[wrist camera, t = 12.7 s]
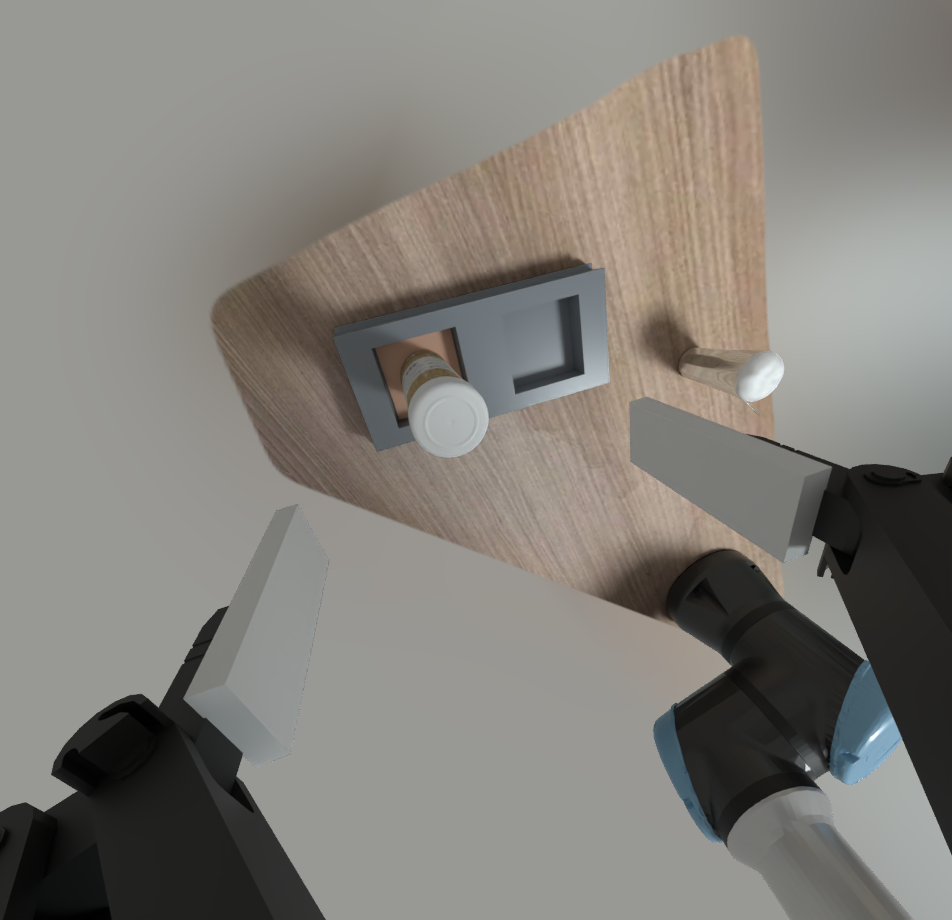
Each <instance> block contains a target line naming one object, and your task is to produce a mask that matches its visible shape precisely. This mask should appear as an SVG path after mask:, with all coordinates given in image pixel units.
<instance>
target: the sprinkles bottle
mask: <svg viewBox="0 0 952 920" xmlns="http://www.w3.org/2000/svg"><path fill="white" fill-rule="evenodd" d="M400 379H401V385H402V387H403V392H404V397H405V401H406V405H407V408H408V419H409V424H410V428H411V431H412V434H413V436H414V438H415V440H416V441H417V443H418V444H419V445H420V446H421V447H422V448H423V449H424V450H425V451H427V452H428V453H430V454H432V455H435V456H438V457H444V458H452V457H458V456H461V455H464V454H466V453H468V452H470V451H471V450H473V449H474V448H475V447H476V446H477V445H478V444H479V443H480V442H481V440H482V439H483V437H484V435H485V433H486V431H487V427H488V421H489V416H488V409H487V406H486V403H485V401H484V399H483V398H482V396H481V395H480V394H479V393H478V391H477V390H476V389H475V388H474V387H473V386H472V385H471V384H469V383H468V382H466V381H465V380H463V379H462V378H461V377H460V376H459V375H458V374H457V373H456V372H455V371H454V370H453V369H452V368H451V367H450V366H449V365H448V364H447V362H446V361H445V360H444V359H443V358H442V357H441V356H440V355H439V354H437V353H435V352H432V351H418V352H416V353H413V354H412V355H410V356H409V357H408V358H407V359H406V360H405V362H404V363H403V365H402V367H401V371H400Z"/></svg>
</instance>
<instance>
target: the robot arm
mask: <svg viewBox="0 0 952 920" xmlns="http://www.w3.org/2000/svg"><path fill="white" fill-rule="evenodd" d="M629 403H630V458H631V462H632V463H633V464H635V465H636V466H638V467H639V468H641V469H642V470H644V471H645V472H647V473H648V474H650V475H651V476H653V477H654V478H656V479H657V480H659V481H660V482H662V483H663V484H665V485H666V486H668V487H669V488H671V489H672V490H674V491H675V492H677V493H678V494H680V495H681V496H683V497H684V498H686V499H687V500H689V501H691V502H692V503H694V504H695V505H697V506H698V507H700V508H701V509H703V510H704V511H706V512H707V513H709V514H710V515H712V516H713V517H715V518H716V519H718V520H719V521H721V522H722V523H724V524H725V525H727V526H728V527H730V528H731V529H733V530H734V531H736V532H737V533H739V534H740V535H742V536H743V537H745V538H746V539H748V540H749V541H751V542H752V543H754V544H755V545H757V546H758V547H760V548H761V549H763V550H764V551H766V552H767V553H769V554H770V555H772V556H773V557H775V558H776V559H778V560H779V561H781V562H782V563H785V562H788V561H791V560H793V559H796V558H798V557H801V556H804V555H806V554H808V551H809V547H810V543H811V540H812V536H814V537H816V538H818V539H820V540H821V541H823V542H825V547H824V550H823V553H822V557H821V560H820V563H819V566H818V569H817V576H819V577H823V575H824V572H825V570H826V569H827V568H829V569H830V571H831V573H832V575H831V578H833V579H834V580H835V583H836V585H837V587H838V590H839V592H840V594H841V597H842V599H843V601H844V604H845V606H846V608H847V611H848V613H849V615H850V618H851V620H852V622H853V625H854V627H855V629H856V632H857V634H858V637H859V639H860V641H861V644H862V646H863V648H864V651H865V653H866V655H867V658H868V660H869V662H868V661H866V660H864V659H862V658H861V657H860V656H858V655H857V654H855V653H854V652H853V651H852V650H850V649H849V648H848V647H846V646H845V645H844V644H842V643H841V642H840V641H838V640H837V639H836V638H834V637H833V636H831V635H830V634H829V633H828V632H826V631H825V630H824V629H822V628H821V627H820V626H818V625H817V624H815V623H814V622H813V621H811V620H810V619H809V618H808V617H806V616H805V615H804V614H802V613H801V612H799V611H798V610H797V609H795V608H794V607H793V606H791V605H790V604H789V603H787V602H786V601H785V600H784V599H783V598H782V597H781V596H780V594H779V593H778V592H777V590H776V589H775V588H774V587H773V585H772V584H771V583H770V581H769V580H768V579H767V578H766V576H765V575H764V574H763V573H762V571H761V570H760V569H759V567H758V566H757V565H756V564H755V563H754V562H753V561H751V560H750V559H749V558H747V557H746V556H744V555H743V554H742V553H740V552H737V551H732V550H726V551H720V552H716V553H713V554H710V555H708V556H706V557H704V558H702V559H700V560H699V561H697V562H696V563H694V564H693V565H692V566H690V567H689V568H688V569H687V570H686V571H685V572H684V573H683V574H682V575H681V576H680V577H679V578H678V580H677V581H676V582H675V584H674V585H673V587H672V589H671V591H670V593H669V596H668V599H667V612H668V614H669V616H670V617H671V618H672V619H673V620H674V622H675V623H676V624H677V625H678V626H679V627H680V628H681V629H682V630H684V631H685V632H687V633H689V634H691V635H692V636H693V637H695V638H697V639H698V640H700V641H701V642H703V643H704V644H706V645H707V646H709V647H711V648H712V649H714V650H715V651H717V652H718V653H720V654H721V655H722V656H723V657H724V658H725V660H727V662H728V663H729V664H730V665H731V666H732V667H731V668H730V669H728V670H727V671H725V672H724V673H722V674H720V675H719V676H717V677H716V678H714V679H713V680H712V681H710V682H709V683H707V684H706V685H704V686H703V687H701V688H700V689H698V690H697V691H695V692H694V693H692V694H691V695H689V696H688V697H687V698H685V699H684V700H683V701H681V702H679V703H678V704H677V703H675V704H673V705H672V707H671V709H670V710H669V711H667V712H666V713H665V714H664V715H662V716H661V717H660V718H658V719H657V720H656V722H655V724H654V729H653V731H654V740H655V743H656V746H657V750H658V752H659V755H660V757H661V760H662V762H663V764H664V767H665V769H666V771H667V773H668V775H669V777H670V779H671V781H672V783H673V785H674V787H675V789H676V791H677V793H678V795H679V796H680V798H682V800H683V801H684V803H685V806H686V808H687V810H688V812H689V813H690V815H691V817H692V818H693V820H694V821H695V823H696V825H697V826H698V827H699V829H700V830H701V832H702V833H703V834H704V835H705V836H706V837H707V838H708V839H709V840H710V841H712V842H719V843H722V842H724V843H725V845H726V847H727V848H728V850H729V851H730V853H731V855H732V856H733V858H735V859H736V860H737V861H739V862H741V863H743V864H745V865H747V866H749V867H751V868H753V869H754V870H756V871H758V872H759V873H760V874H761V875H762V876H763V878H764V880H765V881H766V883H767V884H768V886H769V887H770V889H771V890H772V892H773V893H774V895H775V896H776V898H777V900H778V901H779V903H780V904H781V906H782V907H783V909H784V911H785V912H786V914H787V915H788V917H789V918H790V920H913V918H912V917H911V916H910V915H909V914H908V912H907V911H906V910H905V909H904V908H903V907H902V906H901V904H900V903H899V902H898V901H897V900H896V899H895V898H894V896H893V895H892V894H891V893H890V892H889V890H888V889H887V888H886V887H885V886H884V885H883V883H882V882H881V881H880V880H879V879H878V878H877V876H876V875H875V874H874V873H873V872H872V871H871V869H870V868H869V867H868V866H867V865H866V864H865V862H864V861H863V860H862V859H861V858H860V857H859V855H858V854H857V853H856V852H855V851H854V850H853V848H852V847H851V846H850V845H849V844H848V843H847V841H846V840H845V839H844V838H843V837H842V836H841V835H840V833H839V832H838V831H837V830H836V828H835V826H834V823H833V816H832V807H831V802H830V800H829V798H828V797H827V796H826V794H825V793H824V792H823V791H822V790H821V789H820V788H819V787H818V786H817V784H816V783H815V782H814V780H815V779H817V778H818V777H820V776H821V775H823V774H824V773H826V772H828V771H830V772H831V774H832V775H833V776H834V777H835V778H836V779H839V780H840V781H842V782H843V783H845V784H854V783H857V782H858V781H859V780H861V779H862V778H864V777H866V776H868V775H869V774H870V773H871V772H873V771H874V770H875V769H876V768H877V767H878V766H879V765H880V764H881V763H882V762H883V761H884V760H885V759H886V758H887V757H888V756H889V755H890V754H891V753H892V752H893V750H894V749H895V748H896V747H897V746H898V744H899V743H900V742H901V740H903V742H904V744H905V747H906V749H907V751H908V754H909V756H910V758H911V760H912V763H913V765H914V767H915V770H916V772H917V775H918V777H919V779H920V782H921V784H922V786H923V789H924V791H925V793H926V796H927V798H928V800H929V803H930V805H931V807H932V810H933V812H934V815H935V817H936V819H937V822H938V824H939V826H940V828H941V831H942V833H943V836H944V838H945V840H946V843H947V845H948V847H949V849H950V852H951V854H952V457H951V458H950V460H949V462H948V464H947V467H946V469H945V471H944V473H937V474H928V475H919V474H917V473H915V472H912V471H910V470H907V469H904V468H899V467H895V466H890V465H879V464H869V465H868V464H867V465H859V466H855V467H852V468H851V469H848V468H845V467H843V466H840V465H837V464H834V463H831V462H829V461H826V460H824V459H821V458H818V457H815V456H813V455H810V454H807V453H804V452H802V451H799V450H796V451H795V450H794V448H791V447H788V446H785V445H780V443H777V442H775V441H772V440H769V439H767V438H764V437H759V436H754V435H748V434H744V433H741V432H739V431H736V430H733V429H731V428H728V427H725V426H723V425H720V424H717V423H715V422H712V421H709V420H707V419H704V418H701V417H699V416H696V415H694V414H691V413H688V412H686V411H683V410H680V409H678V408H675V407H672V406H670V405H667V404H664V403H662V402H659V401H657V400H654V399H651V398H649V397H644V398H641V399H638V400H635V401H631V402H629ZM328 564H329V560H328V558H327V556H326V554H325V553H324V551H323V549H322V547H321V545H320V544H319V542H318V540H317V538H316V536H315V534H314V532H313V531H312V529H311V527H310V525H309V523H308V521H307V520H306V518H305V516H304V514H303V512H302V511H301V509H300V507H299V505H298V504H297V505H293V506H290V507H287V508H284V509H281V510H277V511H276V512H275V514H274V516H273V518H272V520H271V522H270V524H269V526H268V529H267V530H266V533H265V534H264V537H263V538H262V541H261V543H260V545H259V547H258V549H257V551H256V553H255V555H254V557H253V559H252V561H251V563H250V565H249V567H248V569H247V571H246V573H245V575H244V577H243V579H242V581H241V583H240V585H239V587H238V589H237V591H236V593H235V595H234V597H233V599H232V601H231V603H230V605H229V606H227V607H224V608H221V609H218V610H217V612H216V613H215V614H214V615H213V616H212V617H211V618H210V619H209V620H208V621H207V623H206V624H205V625H204V626H203V627H202V629H201V631H200V632H199V634H198V637H197V638H196V640H195V642H194V643H193V645H192V646H193V648H192V649H190V651H189V653H188V655H187V656H186V659H185V660H184V661H185V663H184V664H182V666H181V667H180V669H179V671H178V673H177V675H176V677H175V679H174V680H173V682H172V684H171V686H170V688H169V690H168V692H167V693H166V695H165V697H164V699H163V701H162V703H161V704H160V706H159V708H158V707H157V706H156V705H154V704H153V703H152V702H151V701H150V700H149V699H148V698H146V697H145V696H144V695H142V694H137V695H129V696H127V697H125V698H122V699H120V700H118V701H115V702H114V703H112V704H111V705H109V706H108V707H106V708H104V709H103V710H101V711H100V712H98V713H97V714H96V715H94V716H93V717H92V718H91V719H90V720H89V721H88V722H86V723H85V724H84V725H83V726H82V727H81V728H79V730H78V731H77V732H76V733H75V734H74V735H73V736H72V737H71V738H70V740H69V741H68V742H67V743H66V744H65V745H64V747H63V748H62V750H61V752H60V753H59V755H58V756H57V758H56V760H55V761H54V765H53V769H52V773H51V775H52V776H54V777H56V778H58V779H59V780H61V781H62V782H64V783H66V784H67V785H69V786H71V787H72V788H74V789H76V790H77V792H75V793H74V794H72V795H71V796H69V797H67V798H66V799H64V800H63V801H61V802H60V803H58V804H56V805H55V806H53V807H52V808H50V809H48V810H47V811H45V812H43V811H41V810H39V809H37V808H35V807H33V806H31V805H30V804H28V803H21V804H18V805H14V806H11V807H9V808H7V809H5V810H4V811H2V812H0V920H326V919H325V918H324V917H323V914H322V913H321V911H320V909H319V908H318V906H317V905H316V903H315V901H314V899H313V898H312V896H311V895H310V893H309V891H308V889H307V888H306V886H305V885H304V883H303V881H302V879H301V878H300V876H299V874H298V873H297V871H296V870H295V868H294V866H293V865H292V863H291V862H290V859H289V858H288V856H287V854H286V853H285V852H284V849H283V848H282V847H281V844H280V843H279V841H278V840H277V838H276V837H275V834H274V833H273V831H272V829H271V828H270V826H269V824H268V823H267V821H266V819H265V818H264V816H263V815H262V813H261V811H260V810H259V808H258V806H257V804H256V803H255V801H254V800H253V798H252V796H251V794H250V793H249V791H248V789H247V788H246V786H245V785H244V783H243V782H242V781H241V780H240V779H239V778H238V777H236V775H237V772H238V768H239V765H240V762H241V759H242V755H243V756H244V757H245V758H246V759H247V760H248V761H249V762H250V763H251V764H252V765H253V766H255V767H256V768H257V767H259V766H262V765H265V764H267V763H270V762H272V761H275V760H278V759H280V758H283V757H285V756H288V755H290V754H291V749H292V744H293V740H294V735H295V730H296V724H297V719H298V714H299V710H300V704H301V699H302V694H303V690H304V684H305V679H306V675H307V670H308V664H309V659H310V654H311V649H312V644H313V639H314V634H315V629H316V624H317V619H318V614H319V609H320V604H321V599H322V594H323V589H324V584H325V579H326V574H327V569H328Z"/></svg>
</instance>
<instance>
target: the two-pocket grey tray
mask: <svg viewBox="0 0 952 920" xmlns="http://www.w3.org/2000/svg"><path fill="white" fill-rule="evenodd" d="M333 330H334V333H335V336H334V337H332V338H333V340H334V343H335V346H336V348H337V351H338V353H339V356H340V358H341V361H342V363H343V366H344V369H345V371H346V374H347V376H348V379H349V381H350V384H351V387H352V389H353V392H354V394H355V397H356V399H357V402H358V405H359V407H360V410H361V412H362V415H363V417H364V420H365V423H366V425H367V428H368V430H369V433H370V435H371V438H372V440H373V443H374V446H375V448H376V451H377V452H378V451H381V450H384V449H388V448H391V447H394V446H398V445H401V444H404V443H408V442H411V441H414V440H415V438H414V436H413V434H412V431H411V428H410V424H409V419H408V408H407V405H406V401H405V397H404V392H403V387H402V385H401V379H400V371H401V367H402V365H403V363H404V362H405V360H406V359H407V358H408V357H409V356H410V355H412V354H413V353H416V352H418V351H432V352H435V353H437V354H439V355H440V356H441V357H442V358H443V359H444V360H445V361H446V362H447V364H448V365H449V366H450V367H451V368H452V369H453V370H454V371H455V372H456V373H457V374H458V375H459V376H460V377H461V378H462V379H463V380H465V381H466V382H468V383H469V384H471V385H472V386H473V387H474V388H475V389H476V390H477V391H478V393H479V394H480V395H481V396H482V398H483V399H484V401H485V403H486V406H487V409H488V416H489V418H492V417H495V416H498V415H502V414H505V413H508V412H512V411H515V410H518V409H522V408H525V407H528V406H532V405H535V404H538V403H542V402H545V401H549V400H552V399H555V398H559V397H562V396H565V395H569V394H572V393H575V392H579V391H582V390H585V389H589V388H592V387H595V386H599V385H602V384H606V383H609V361H608V338H607V314H606V291H605V268H599V269H592V263H589V264H584V265H580V266H576V267H572V268H568V269H564V270H560V271H556V272H552V273H548V274H544V275H540V276H537V277H533V278H529V279H525V280H521V281H517V282H513V283H509V284H505V285H501V286H497V287H493V288H489V289H485V290H481V291H477V292H473V293H469V294H465V295H462V296H458V297H454V298H450V299H446V300H442V301H438V302H434V303H430V304H426V305H422V306H418V307H414V308H410V309H406V310H402V311H398V312H394V313H390V314H387V315H383V316H379V317H375V318H371V319H367V320H363V321H359V322H355V323H351V324H347V325H343V326H339V327H335V328H333Z"/></svg>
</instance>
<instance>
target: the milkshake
mask: <svg viewBox="0 0 952 920" xmlns="http://www.w3.org/2000/svg"><path fill="white" fill-rule="evenodd" d="M678 371H679V372H680V373H681V375H682V376H683V377H685V378H688V379H691V380H693V381H696V382H699V383H701V384H704V385H707V386H709V387H712V388H715V389H717V390H720V391H723V392H725V393H727V394H730V395H732V396H735V397H737V398H739V399H742V400H744V401H745V402H746V403H747V404H748V405H749V406H750V407H751V408H752V409H753V411H754V412H755V413H756V414H758V415H760V414H759V413H758V412H757V411H756V410H755V409H754V408H753V407H752V406H751V405H750V404H749V403H748V402H747V401H749V402H753V401H758V400H760V399H762V398H764V397H766V396H767V395H769V394H770V393H771V392H772V391H773V390H774V389H775V388H776V387H777V386H778V384H779V382H780V380H781V379H782V377H783V374H784V363H783V361H782V359H781V358H780V356H779V355H778V354H776V353H774V352H772V351H761V350H723V349H708V348H694V347H692V348H691V349H689V350H688V351H686V352H684V354H683V355H682V357H681V359H680V361H679V370H678Z"/></svg>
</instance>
